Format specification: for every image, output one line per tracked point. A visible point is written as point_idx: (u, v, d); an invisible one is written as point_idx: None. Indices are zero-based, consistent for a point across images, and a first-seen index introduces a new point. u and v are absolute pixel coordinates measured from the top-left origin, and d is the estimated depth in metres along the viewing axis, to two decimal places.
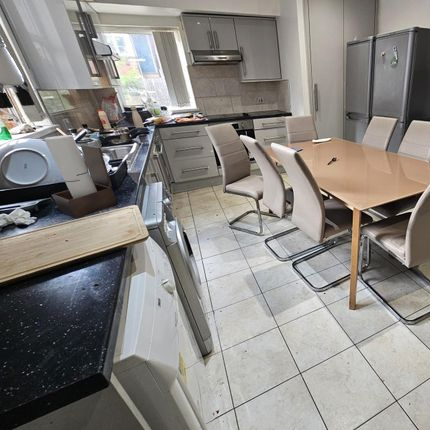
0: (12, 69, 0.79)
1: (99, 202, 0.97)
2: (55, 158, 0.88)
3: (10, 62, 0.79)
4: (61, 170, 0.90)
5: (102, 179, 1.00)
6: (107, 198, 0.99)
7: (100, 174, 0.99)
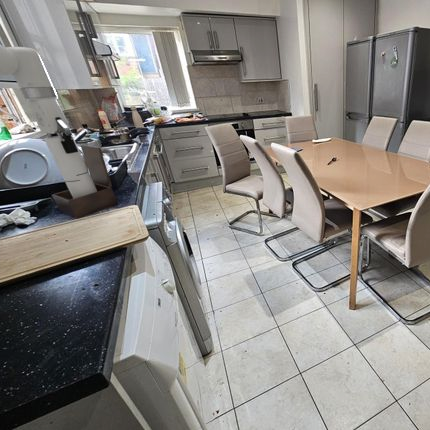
0: None
1: (99, 202, 0.97)
2: (55, 158, 0.88)
3: None
4: (61, 170, 0.90)
5: (102, 179, 1.00)
6: (107, 198, 0.99)
7: (100, 174, 0.99)
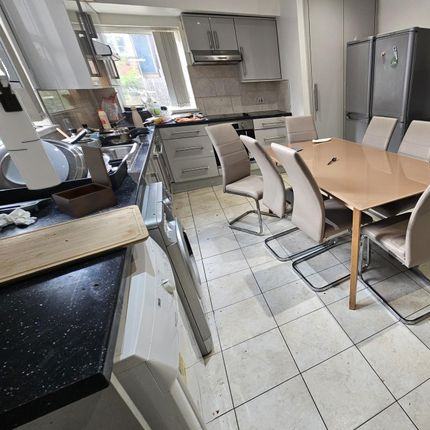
0: None
1: (99, 202, 0.97)
2: None
3: None
4: (0, 135, 0.69)
5: (102, 179, 1.00)
6: (107, 198, 0.99)
7: (100, 174, 0.99)
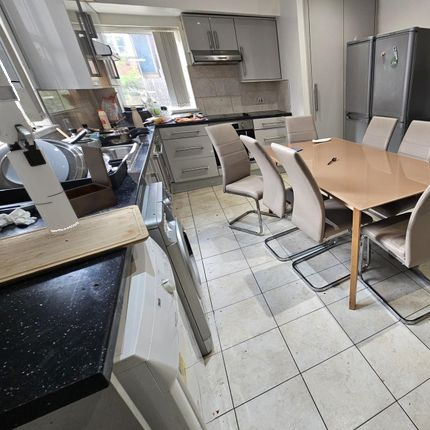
0: None
1: (99, 202, 0.97)
2: (20, 177, 0.72)
3: None
4: (28, 191, 0.74)
5: (102, 179, 1.00)
6: (107, 198, 0.99)
7: (100, 174, 0.99)
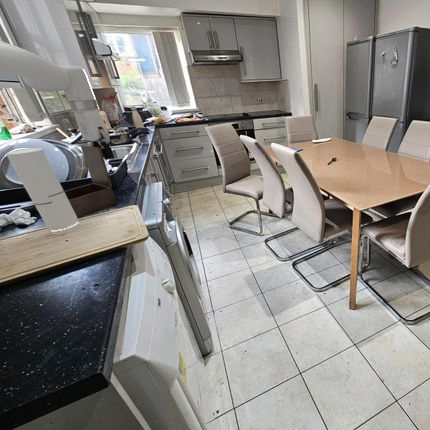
0: None
1: (99, 202, 0.97)
2: (20, 177, 0.72)
3: None
4: (28, 191, 0.74)
5: (102, 179, 1.00)
6: (107, 198, 0.99)
7: (100, 174, 0.99)
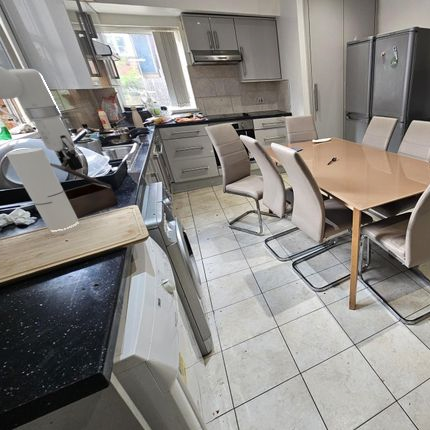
0: None
1: (99, 202, 0.97)
2: (20, 177, 0.72)
3: None
4: (28, 191, 0.74)
5: (98, 183, 0.99)
6: (107, 198, 0.99)
7: (92, 180, 0.97)
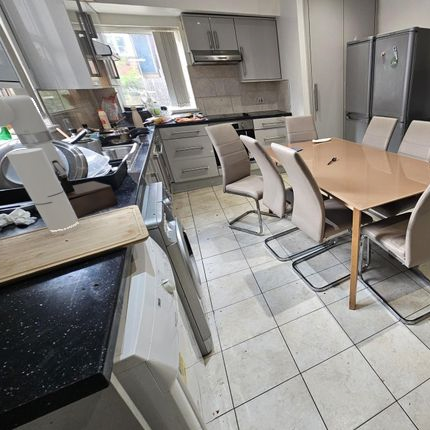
0: None
1: (99, 202, 0.97)
2: (20, 177, 0.72)
3: None
4: (28, 191, 0.74)
5: None
6: (107, 198, 0.99)
7: None
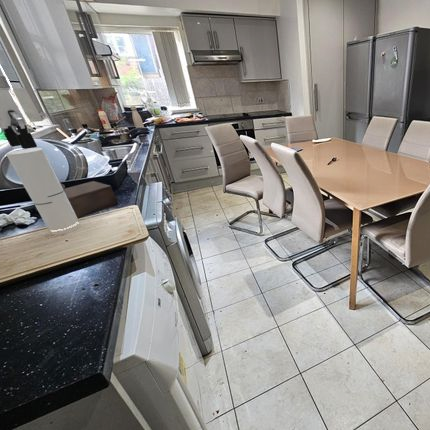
0: None
1: (99, 202, 0.97)
2: (20, 177, 0.72)
3: None
4: (28, 191, 0.74)
5: None
6: (107, 198, 0.99)
7: None
